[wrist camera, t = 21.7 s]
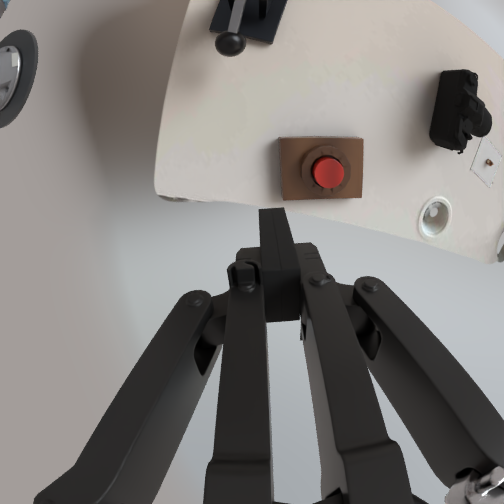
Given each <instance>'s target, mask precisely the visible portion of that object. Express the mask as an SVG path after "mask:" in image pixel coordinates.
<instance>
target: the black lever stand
mask: <svg viewBox="0 0 504 504" xmlns="http://www.w3.org/2000/svg"><path fill="white" fill-rule="evenodd" d="M234 1H235V0H220V2H219V4H218V7H217V9H216V12H215V15H214V17H213V20H212V23H211V25H210V28H209V30H210V32H215V33H222V32H224V31H227V30H228V27H229V23H230V18H231V14H232V10H233V5H234ZM286 3H287V0H246V4H245V8H244V12H243V16H242V20H241V24H240V28H239V32H240V33H241V34H243V36H244V37H245V38H249V39H253V40H258V41H262V42H266V43H270V44H272V43H273V40H274V37H275V34H276V31H277V29H278V26H279V23H280V20H281V17H282V14H283V11H284V9H285V6H286Z"/></svg>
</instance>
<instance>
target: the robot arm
mask: <svg viewBox="0 0 504 504" xmlns="http://www.w3.org/2000/svg"><path fill="white" fill-rule="evenodd" d="M9 1H10V0H0V18H1V16H2V14H3V13H4V11H5V10H6V8H7V5H8V3H9ZM22 68H23V57H22V53H21V50H20V49H19V48H18V47H16V46H5V47H2V48H0V111H2V110H4V109H5V108H6V107H7V106H8V105H9V103H10V102H11V100H12V99H13V97H14V95H15V93H16V91H17V88H18V85H19V82H20V79H21V74H22ZM259 229H260V247H252V248H241V249H240V250H239V251H238V252H237V254H236V262H234V263H232V264H231V265H229V267H228V269H227V273H228V280H229V286H230V289H229V290H228V291H227V292H225V293H223V294H220V295H217V296H213V297H211V295H210V294H209V293H208V292H206V291H202V290H194V291H190V292H188V293H186V294H184V295H183V296H182V297H181V298H180V299H179V300H178V302H177V303H176V305H175V306H174V308H173V309H172V311H171V312H170V314H169V315H168V316H167V318H166V320H165V321H164V322H163V324H162V325H161V327H160V328H159V330H158V331H157V333H156V334H155V336H154V338H153V339H152V340H151V342H150V343H149V345H148V346H147V348H146V349H145V351H144V353H143V354H142V356H141V357H140V359H139V360H138V362H137V363H136V365H135V366H134V368H133V369H132V371H131V373H130V374H129V376H128V377H127V379H126V380H125V382H124V384H123V385H122V387H121V388H120V390H119V391H118V393H117V395H116V396H115V398H114V400H113V401H112V403H111V405H110V406H109V408H108V409H107V411H106V412H105V414H104V416H103V417H102V419H101V421H100V422H99V424H98V426H97V427H96V429H95V431H94V432H93V434H92V436H91V438H90V439H89V441H88V442H87V444H86V446H85V447H84V449H83V451H82V453H81V455H80V456H79V458H78V460H77V462H76V463H75V465H74V466H73V467H72V468H71V469H69V470H68V471H67V472H65V473H64V474H63V475H62V476H61V477H59V478H58V479H57V480H55V481H54V482H53V483H52V484H50V485H49V486H48V487H46V488H45V489H44V490H42V491H41V492H40V493H38V494H37V496H36V497H35V498H34V502H33V504H152V502H153V500H154V499H155V497H156V495H157V493H158V491H159V489H160V487H161V484H162V482H163V480H164V478H165V475H166V473H167V471H168V469H169V467H170V464H171V462H172V460H173V458H174V456H175V453H176V451H177V449H178V447H179V444H180V442H181V440H182V438H183V435H184V433H185V431H186V428H187V426H188V424H189V422H190V420H191V417H192V415H193V413H194V410H195V408H196V406H197V404H198V401H199V399H200V397H201V394H202V392H203V390H204V388H205V385H206V383H207V381H208V378H209V376H210V374H211V372H212V369H213V367H214V364H215V362H216V360H217V358H218V355H219V353H220V350H221V348H222V344H223V354H222V364H221V374H220V384H219V393H218V404H217V415H216V426H215V439H214V450H213V457H212V459H211V461H210V462H209V463H208V466H207V469H206V476H205V488H204V500H203V504H288V503H280V502H274V484H273V458H272V434H271V433H272V431H271V408H270V387H269V386H270V385H269V364H268V344H267V327H266V323H268V322H282V321H293V320H300V317H301V333H300V340H303V345H304V351H305V357H306V363H307V369H308V375H309V382H310V389H311V395H312V402H313V408H314V416H315V423H316V430H317V438H318V446H319V454H320V463H321V474H322V475H321V496H322V501H319V502H316V503H313V504H428V503H427V502H425V501H423V500H422V499H420V498H419V497H417V496H416V495H414V494H412V492H411V488H410V483H409V478H408V474H407V470H406V465H405V462H404V458H403V453H402V451H401V448H400V446H399V445H398V443H397V442H396V441H393V440H391V439H390V438H389V436H388V434H387V431H386V427H385V423H384V420H383V416H382V413H381V409H380V406H379V403H378V399H377V396H376V393H375V390H374V387H373V383H372V380H371V377H370V374H369V371H368V369H369V370H370V372H371V373H372V375H373V376H374V378H375V379H376V381H377V382H378V384H379V385H380V387H381V388H382V390H383V392H384V393H385V395H386V396H387V398H388V399H389V401H390V403H391V404H392V406H393V407H394V409H395V410H396V412H397V413H398V415H399V417H400V418H401V420H402V421H403V423H404V425H405V426H406V428H407V429H408V431H409V433H410V434H411V436H412V438H413V439H414V441H415V443H416V444H417V446H418V447H419V449H420V450H421V452H422V454H423V456H424V457H425V459H426V461H427V463H428V464H429V466H430V467H431V469H432V470H433V472H434V473H435V475H436V476H437V477H438V478H439V479H440V481H441V482H442V483H443V484H444V485H445V486H447V487H448V488H449V489H450V490H449V492H448V493H447V494H446V496H445V503H446V504H504V420H503V419H502V417H501V416H500V414H499V413H498V412H497V410H496V409H495V408H494V406H493V405H492V404H491V402H490V401H489V400H488V398H487V397H486V396H485V394H484V393H483V392H482V390H481V389H480V388H479V387H478V385H477V384H476V383H475V382H474V380H473V379H472V378H471V377H470V375H469V374H468V373H467V372H466V371H465V369H464V368H463V367H462V366H461V365H460V364H459V362H458V361H457V360H456V359H455V358H454V356H453V355H452V354H451V353H450V352H449V351H448V350H447V348H446V347H445V346H444V345H443V344H442V343H441V342H440V341H439V339H438V338H437V337H436V336H435V335H434V334H433V333H432V332H431V331H430V330H429V328H428V327H427V326H426V325H425V324H424V323H423V322H422V321H421V320H420V319H419V318H418V317H417V316H416V315H415V314H414V313H413V312H412V310H411V309H410V308H409V307H408V306H407V305H406V304H405V303H404V302H403V301H402V300H401V299H400V298H399V297H398V296H397V295H396V294H395V293H394V292H393V291H392V290H391V289H390V288H389V287H388V286H387V285H386V284H385V283H384V282H383V281H381V280H380V279H378V278H375V277H370V276H365V277H360V278H358V279H357V280H356V281H355V283H354V285H345V284H340V283H337V282H335V279H334V278H333V276H332V275H330V274H328V273H327V272H326V269H325V267H324V264H323V262H322V259H321V257H320V254H319V252H318V250H317V247H316V246H315V245H313V244H312V243H298V244H297V243H296V244H294V241H293V238H292V234H291V231H290V227H289V224H288V220H287V217H286V213H285V210H284V208H269V209H259ZM367 367H368V368H367Z"/></svg>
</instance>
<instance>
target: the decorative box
mask: <svg viewBox="0 0 504 504" xmlns="http://www.w3.org/2000/svg"><path fill="white" fill-rule="evenodd" d="M501 157H502V155H501V154H500V153H499V152H498V150H497V149H496V148H495V147H494V146H493V145H492V143H491V142H490V141H489V140H488V139H487V138H486V137H485V136H484V137H482V140H481V143H480V146H479V149H478V151H477V154H476V157H475V159H474V162H473V164H472V167H471V170H472V171H473V172H474V173H475V174H476V175H478V176H479V177H480V178H481V179H482V180H483V181H484V182H485V183H486V184H487V185H488V186H489V188H490V186H491V184H492V181H493V179H494V176H495V174H496V171H497V169H498V166H499V163H500V160H501Z"/></svg>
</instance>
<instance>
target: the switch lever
mask: <svg viewBox="0 0 504 504" xmlns="http://www.w3.org/2000/svg"><path fill="white" fill-rule="evenodd" d="M245 4H246V0H235V1H234V5H233V10H232V14H231V18H230V23H229V27H228V30H227V31H224V32H222V33H220V34H219V35H218V36H217V38H216V40H215V47H216V50H217V51H218V52H219V53H220V54H222V55H224V56H227V57H233V56H237V55H239V54H240V53H242V52H243V50H244V49H245V47H246V39H245V37H244V36H243V34H241V33H240V32H239V28H240V24H241V20H242V16H243V12H244V8H245Z"/></svg>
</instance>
